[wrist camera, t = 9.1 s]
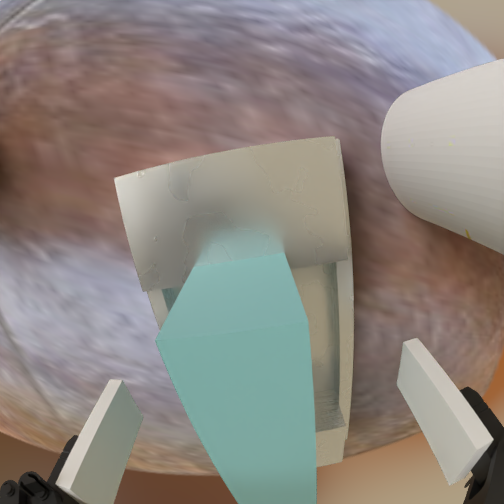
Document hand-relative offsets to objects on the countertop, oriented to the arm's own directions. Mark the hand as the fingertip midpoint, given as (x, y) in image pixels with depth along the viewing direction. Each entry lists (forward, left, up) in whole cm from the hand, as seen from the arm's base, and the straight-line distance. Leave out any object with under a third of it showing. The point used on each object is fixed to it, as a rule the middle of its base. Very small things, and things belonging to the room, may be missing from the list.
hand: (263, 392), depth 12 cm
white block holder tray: (0, 0, -5) cm, 5 cm away
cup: (-9, +12, -5) cm, 16 cm away
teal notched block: (0, 0, -4) cm, 4 cm away
